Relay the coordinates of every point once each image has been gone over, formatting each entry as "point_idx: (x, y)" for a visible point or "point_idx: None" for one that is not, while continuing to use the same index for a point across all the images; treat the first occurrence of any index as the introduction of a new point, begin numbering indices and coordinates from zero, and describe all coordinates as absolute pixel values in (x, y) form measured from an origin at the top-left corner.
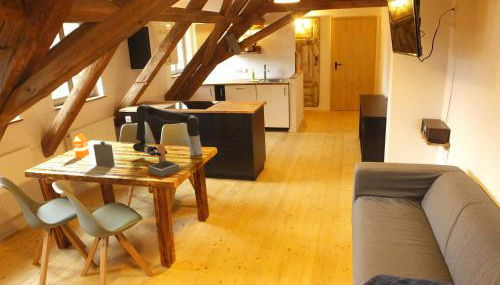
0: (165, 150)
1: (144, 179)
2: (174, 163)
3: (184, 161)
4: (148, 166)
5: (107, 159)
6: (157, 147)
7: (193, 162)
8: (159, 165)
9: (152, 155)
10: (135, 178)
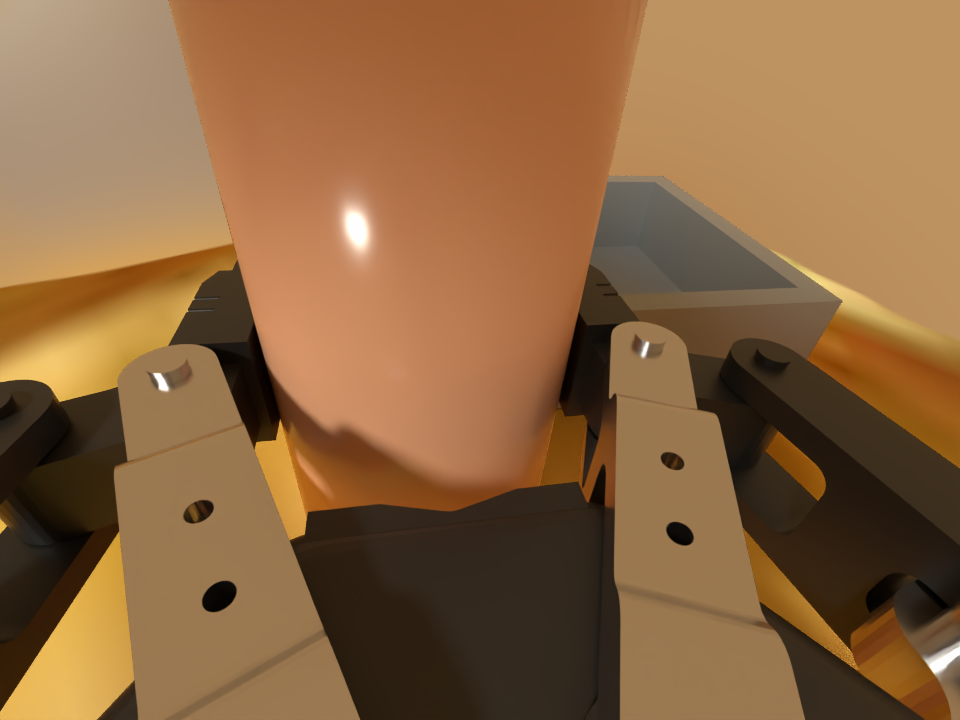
0: (68, 408)
1: (823, 282)
2: None
3: (74, 394)
4: (827, 295)
5: None
6: (637, 36)
7: (91, 297)
8: None
9: (806, 499)
10: (954, 343)
